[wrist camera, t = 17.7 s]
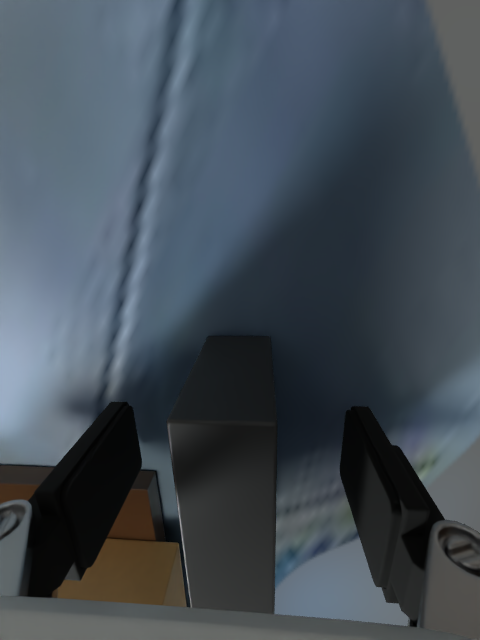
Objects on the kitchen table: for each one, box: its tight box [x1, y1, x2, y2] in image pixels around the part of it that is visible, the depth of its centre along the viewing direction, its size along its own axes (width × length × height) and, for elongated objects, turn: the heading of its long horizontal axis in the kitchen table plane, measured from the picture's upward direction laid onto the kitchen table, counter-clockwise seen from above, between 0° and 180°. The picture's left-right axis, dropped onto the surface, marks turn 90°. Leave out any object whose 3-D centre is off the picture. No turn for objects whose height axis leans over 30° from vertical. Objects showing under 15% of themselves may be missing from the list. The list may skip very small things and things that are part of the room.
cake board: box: [0, 465, 166, 542], centre depth 15 cm, size 14×12×1 cm
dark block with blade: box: [167, 336, 277, 614], centre depth 11 cm, size 16×2×5 cm, turn 2°
